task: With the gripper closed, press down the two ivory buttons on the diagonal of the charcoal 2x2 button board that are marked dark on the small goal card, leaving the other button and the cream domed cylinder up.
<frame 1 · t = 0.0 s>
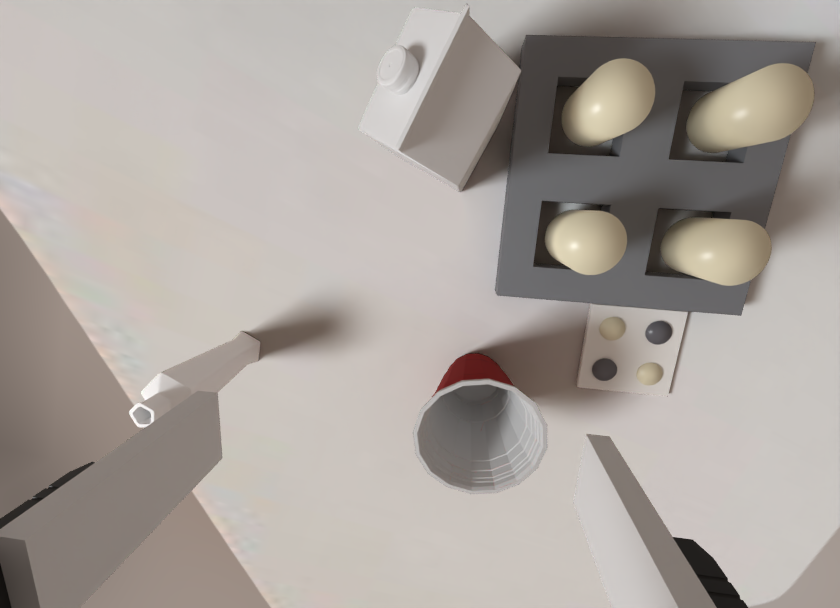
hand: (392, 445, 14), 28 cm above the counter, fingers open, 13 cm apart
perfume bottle: (247, 347, 45), on the counter
board: (627, 183, 37), on the counter
button 2: (743, 113, 29), point 6 cm above the counter, slide at 0.0 cm
plastic cup: (475, 378, 43), on the counter
goal card: (628, 349, 41), on the counter
button 3: (581, 240, 33), point 6 cm above the counter, slide at 0.0 cm
cream domed cylinder 4: (710, 248, 32), point 6 cm above the counter, slide at 0.0 cm
button 1: (603, 107, 30), point 6 cm above the counter, slide at 0.0 cm
milk carton: (447, 140, 38), on the counter
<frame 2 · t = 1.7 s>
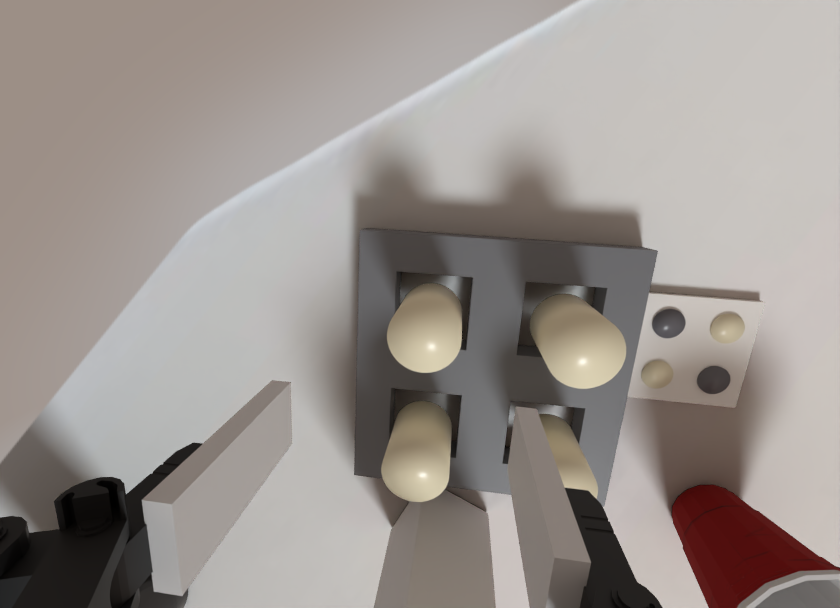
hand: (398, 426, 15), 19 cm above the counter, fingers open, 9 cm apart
board: (486, 363, 35), on the counter
button 2: (428, 324, 28), point 6 cm above the counter, slide at 0.0 cm
plastic cup: (705, 508, 36), on the counter
goal card: (686, 349, 33), on the counter
button 3: (551, 463, 30), point 6 cm above the counter, slide at 0.0 cm
cream domed cylinder 4: (572, 337, 27), point 6 cm above the counter, slide at 0.0 cm
button 1: (419, 447, 31), point 6 cm above the counter, slide at 0.0 cm
milk carton: (438, 518, 40), on the counter
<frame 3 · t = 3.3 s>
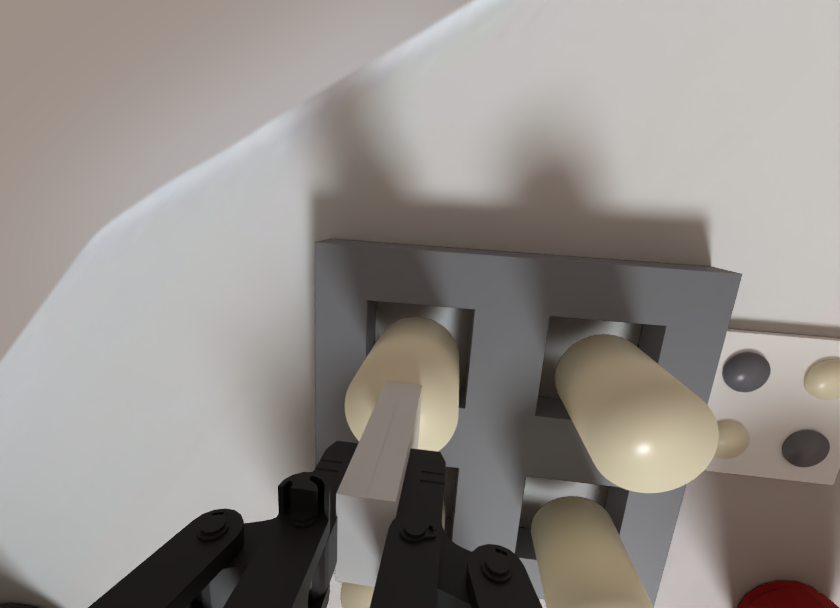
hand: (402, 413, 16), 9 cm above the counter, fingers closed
board: (492, 420, 26), on the counter
button 2: (409, 380, 19), point 6 cm above the counter, slide at 0.2 cm, touching gripper
goal card: (767, 405, 24), on the counter
button 3: (587, 575, 21), point 6 cm above the counter, slide at 0.0 cm
cream domed cylinder 4: (622, 403, 18), point 6 cm above the counter, slide at 0.0 cm
button 1: (399, 549, 22), point 6 cm above the counter, slide at 0.0 cm
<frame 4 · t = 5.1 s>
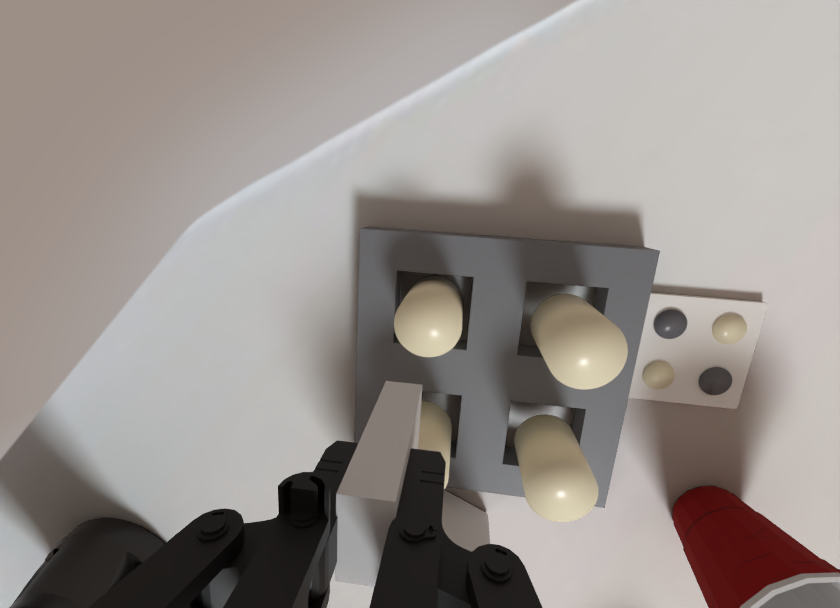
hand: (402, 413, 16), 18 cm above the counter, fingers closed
board: (487, 363, 35), on the counter
button 2: (431, 313, 31), point 3 cm above the counter, slide at 2.7 cm
plastic cup: (706, 509, 36), on the counter
goal card: (688, 349, 33), on the counter
button 3: (551, 464, 30), point 6 cm above the counter, slide at 0.0 cm
cream domed cylinder 4: (573, 337, 27), point 6 cm above the counter, slide at 0.0 cm
button 1: (419, 447, 31), point 6 cm above the counter, slide at 0.0 cm
milk carton: (438, 519, 39), on the counter
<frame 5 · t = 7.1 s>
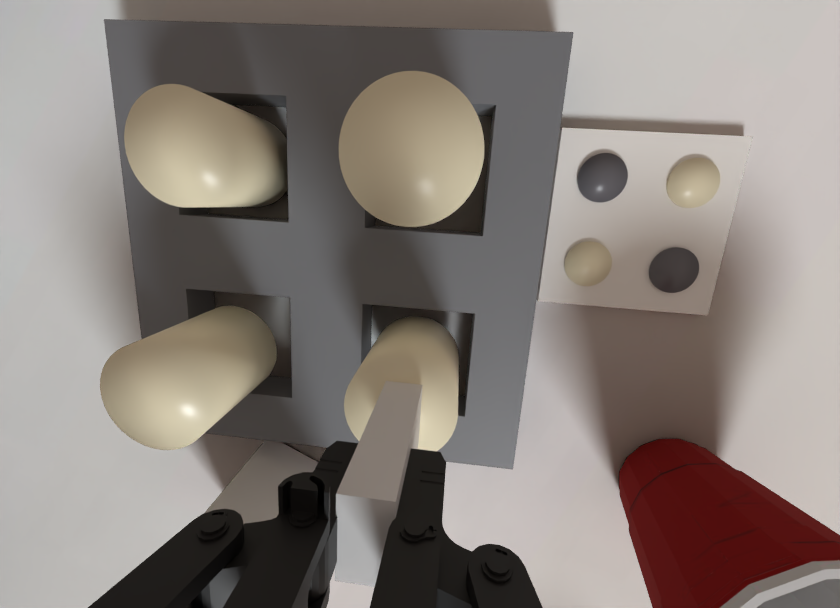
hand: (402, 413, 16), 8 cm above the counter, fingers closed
board: (340, 257, 23), on the counter
button 2: (221, 156, 19), point 3 cm above the counter, slide at 2.7 cm
plastic cup: (667, 474, 25), on the counter
goal card: (632, 224, 21), on the counter
button 3: (409, 379, 19), point 5 cm above the counter, slide at 1.2 cm, touching gripper
cream domed cylinder 4: (419, 161, 16), point 6 cm above the counter, slide at 0.0 cm
button 1: (201, 369, 19), point 6 cm above the counter, slide at 0.0 cm
milk carton: (296, 494, 28), on the counter
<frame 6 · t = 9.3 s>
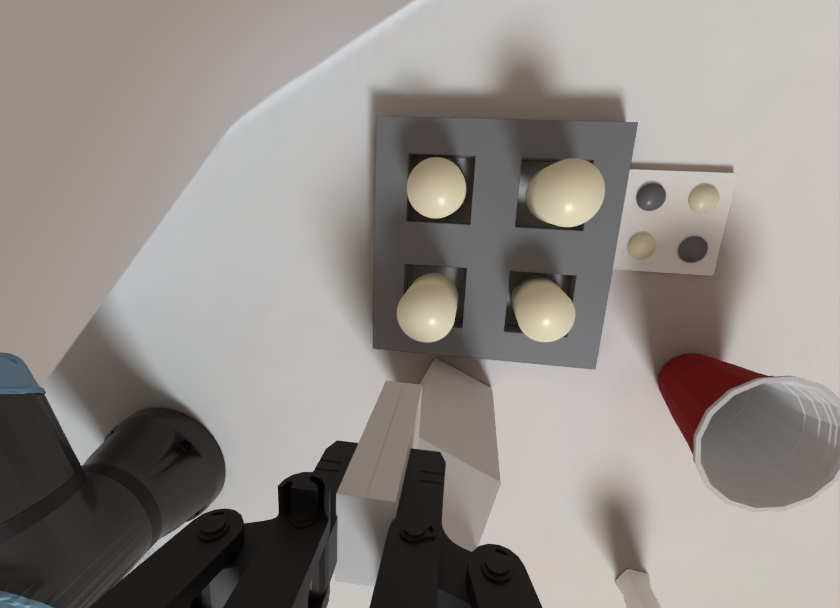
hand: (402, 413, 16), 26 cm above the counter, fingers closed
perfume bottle: (631, 579, 47), on the counter
board: (489, 245, 39), on the counter
button 2: (439, 189, 35), point 3 cm above the counter, slide at 2.7 cm
plastic cup: (689, 377, 40), on the counter
goal card: (668, 223, 37), on the counter
button 3: (540, 306, 37), point 3 cm above the counter, slide at 2.7 cm
cream domed cylinder 4: (561, 194, 32), point 6 cm above the counter, slide at 0.0 cm
button 1: (429, 305, 35), point 6 cm above the counter, slide at 0.0 cm
milk carton: (448, 396, 44), on the counter
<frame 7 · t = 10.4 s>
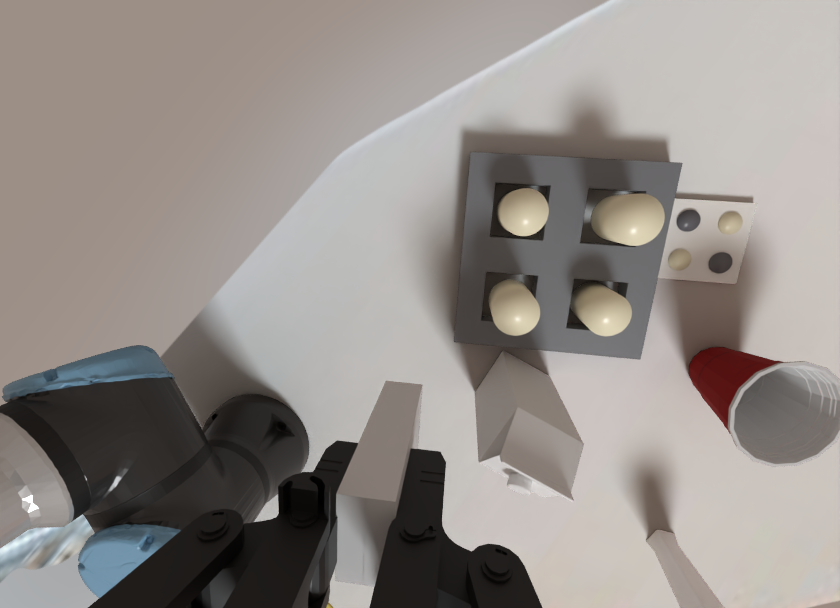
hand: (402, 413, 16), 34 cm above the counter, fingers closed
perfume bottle: (660, 538, 56), on the counter
board: (554, 256, 48), on the counter
button 2: (520, 211, 44), point 3 cm above the counter, slide at 2.7 cm
plastic cup: (713, 366, 49), on the counter
goal card: (700, 241, 45), on the counter
button 3: (598, 307, 45), point 3 cm above the counter, slide at 2.7 cm
cream domed cylinder 4: (624, 218, 40), point 6 cm above the counter, slide at 0.0 cm
button 1: (512, 306, 44), point 6 cm above the counter, slide at 0.0 cm
milk carton: (511, 383, 52), on the counter
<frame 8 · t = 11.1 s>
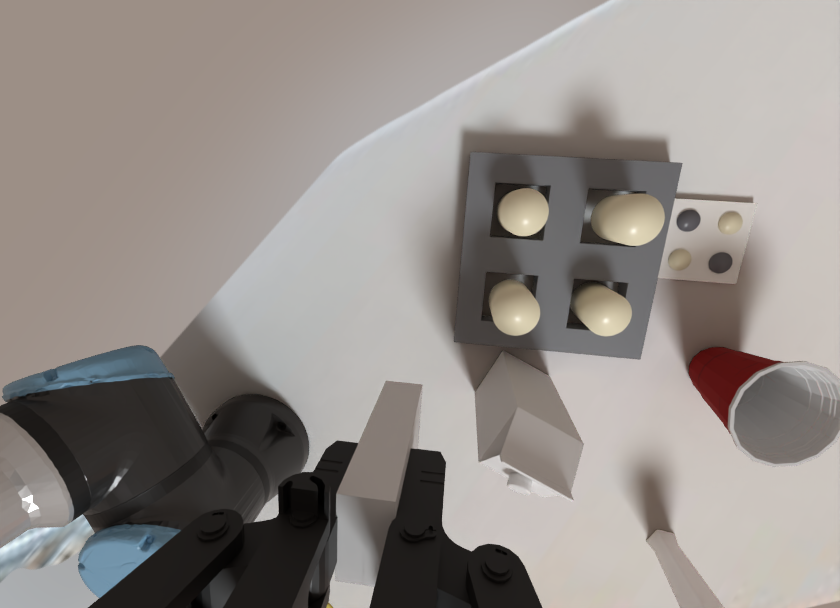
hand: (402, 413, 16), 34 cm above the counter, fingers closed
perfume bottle: (660, 538, 56), on the counter
board: (554, 256, 48), on the counter
button 2: (520, 211, 44), point 3 cm above the counter, slide at 2.7 cm
plastic cup: (713, 366, 49), on the counter
goal card: (701, 241, 45), on the counter
button 3: (598, 307, 45), point 3 cm above the counter, slide at 2.7 cm
cream domed cylinder 4: (624, 218, 40), point 6 cm above the counter, slide at 0.0 cm
button 1: (512, 306, 44), point 6 cm above the counter, slide at 0.0 cm
milk carton: (511, 383, 52), on the counter
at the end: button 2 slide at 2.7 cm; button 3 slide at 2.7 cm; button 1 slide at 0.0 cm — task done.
